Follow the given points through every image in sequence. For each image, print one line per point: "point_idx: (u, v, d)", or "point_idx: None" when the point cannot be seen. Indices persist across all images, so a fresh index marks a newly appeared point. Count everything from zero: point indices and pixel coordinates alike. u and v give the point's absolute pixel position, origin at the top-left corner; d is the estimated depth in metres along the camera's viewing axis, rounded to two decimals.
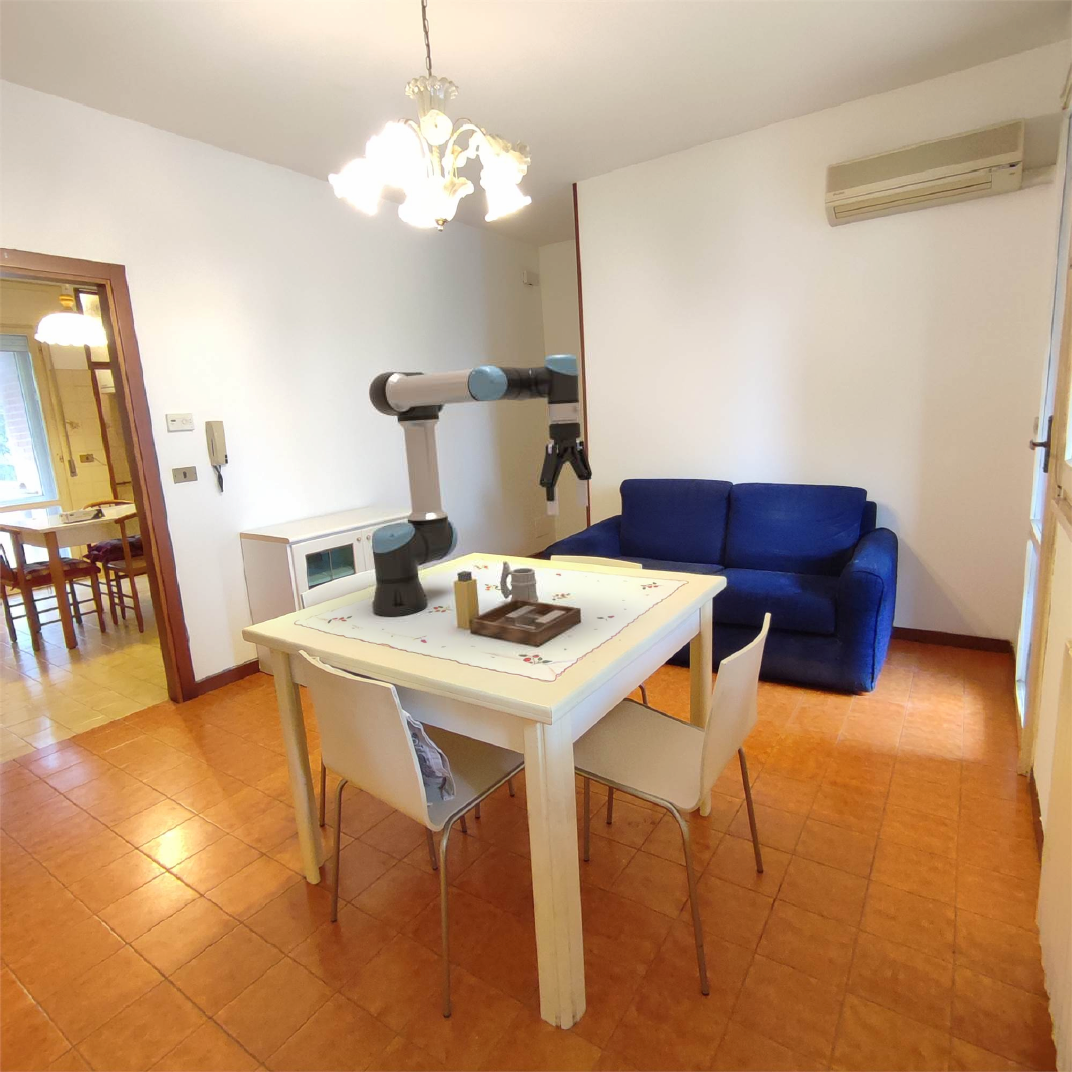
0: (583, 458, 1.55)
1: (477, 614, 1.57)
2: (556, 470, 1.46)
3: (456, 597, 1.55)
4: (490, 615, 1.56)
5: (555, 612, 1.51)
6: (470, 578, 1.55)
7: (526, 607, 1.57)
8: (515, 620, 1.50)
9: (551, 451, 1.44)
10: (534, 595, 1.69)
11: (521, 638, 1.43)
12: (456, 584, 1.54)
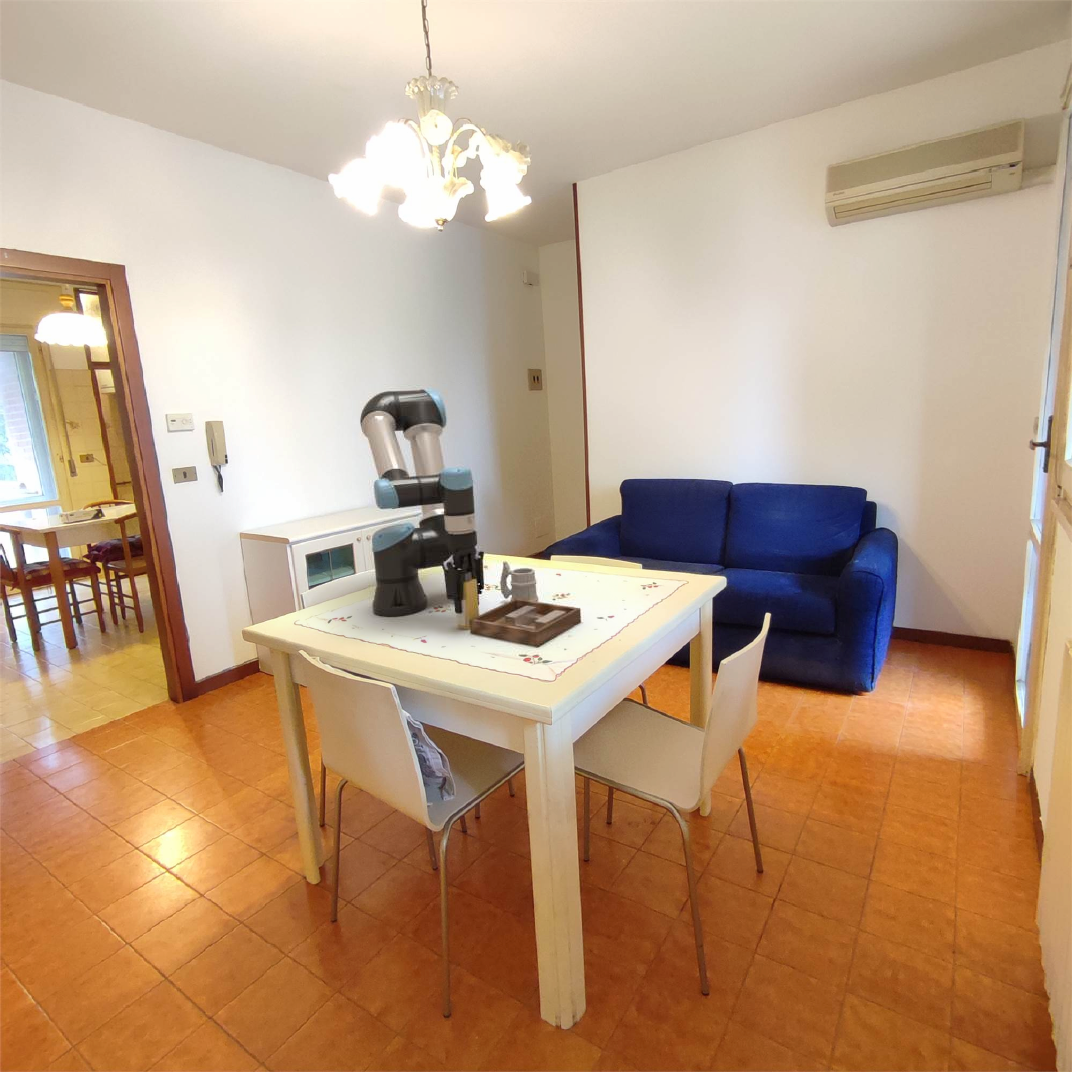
0: (479, 568, 1.58)
1: (477, 614, 1.57)
2: (459, 583, 1.52)
3: None
4: (490, 615, 1.56)
5: (555, 612, 1.51)
6: (470, 578, 1.55)
7: (526, 607, 1.57)
8: (515, 620, 1.50)
9: (448, 568, 1.49)
10: (534, 595, 1.69)
11: (521, 638, 1.43)
12: None
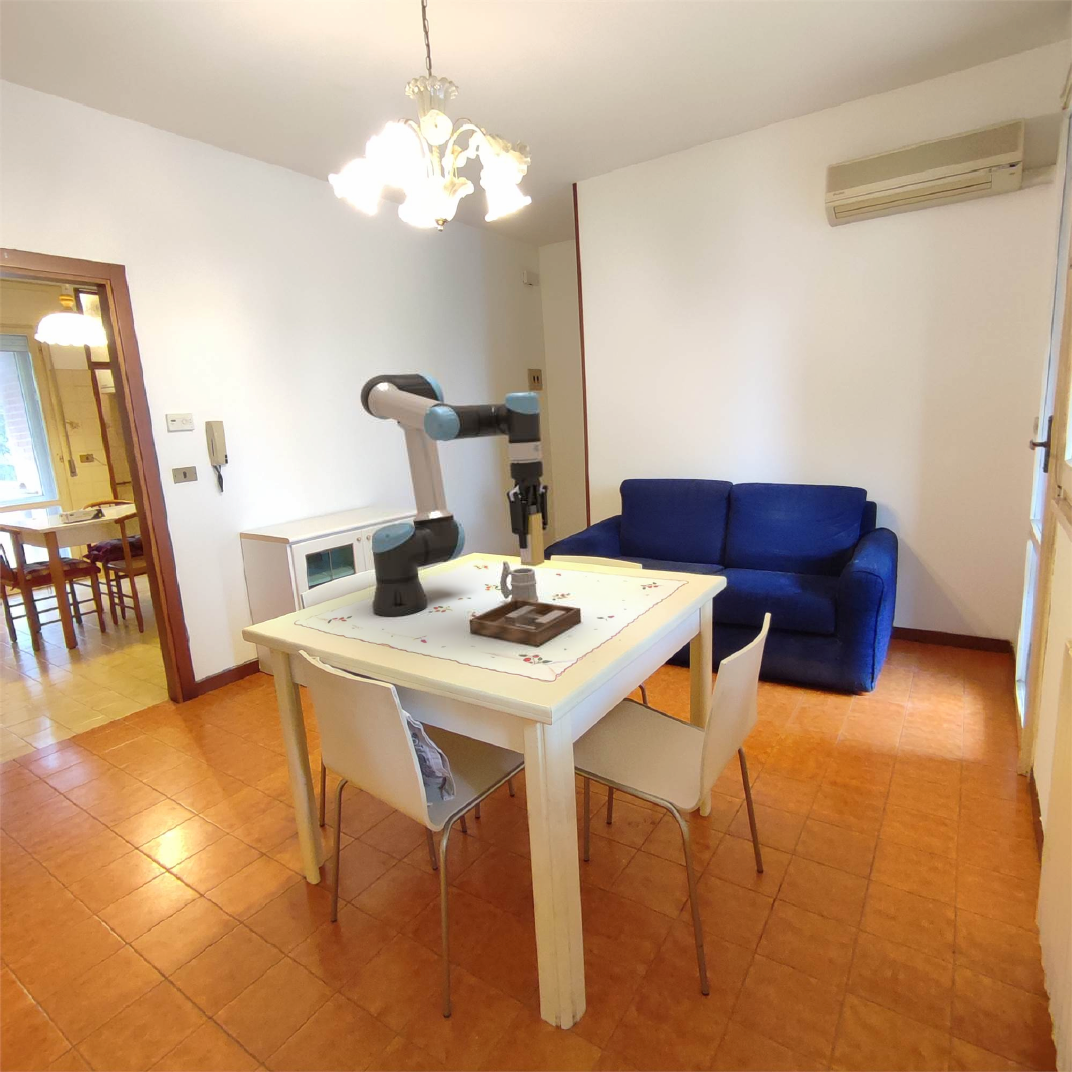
0: (543, 502, 1.49)
1: (542, 551, 1.48)
2: (524, 516, 1.43)
3: None
4: (490, 615, 1.56)
5: (555, 612, 1.51)
6: (535, 512, 1.46)
7: (526, 607, 1.57)
8: (515, 620, 1.50)
9: (514, 499, 1.40)
10: (534, 595, 1.69)
11: (521, 638, 1.43)
12: None
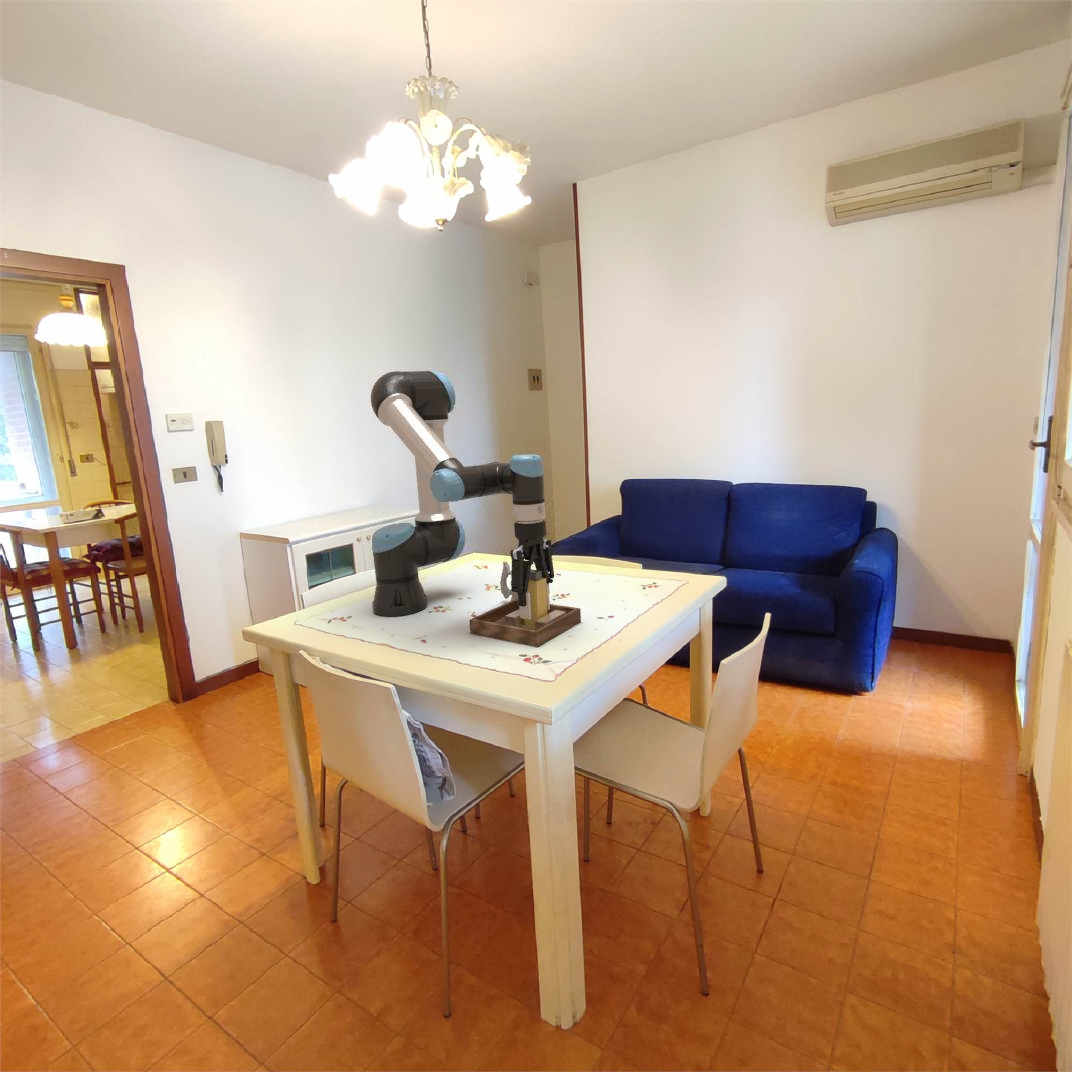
0: (548, 557, 1.53)
1: (545, 614, 1.51)
2: (525, 575, 1.45)
3: None
4: (490, 615, 1.56)
5: (555, 612, 1.51)
6: (540, 577, 1.49)
7: None
8: (515, 620, 1.50)
9: (517, 557, 1.43)
10: None
11: (521, 638, 1.43)
12: None
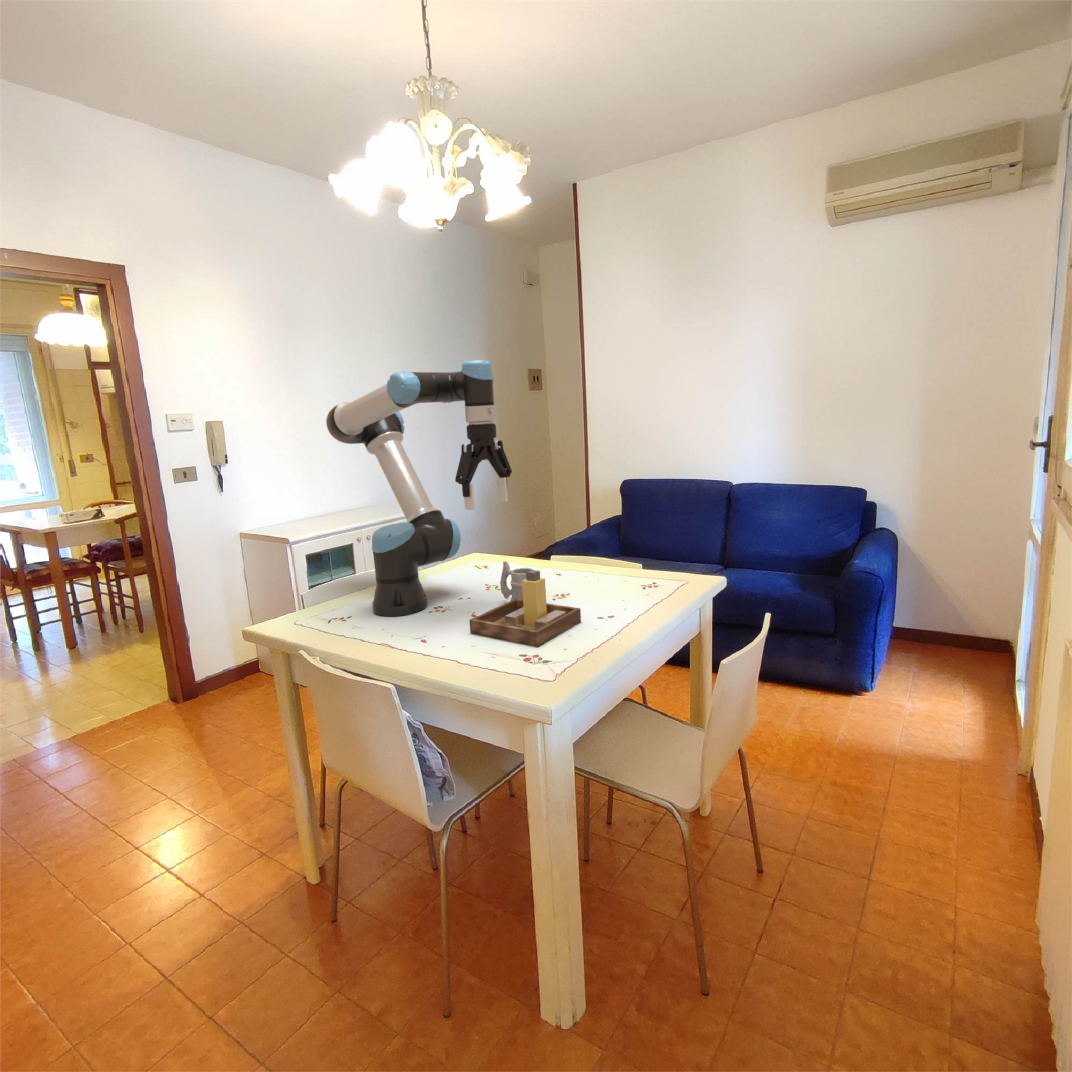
0: (502, 456, 1.66)
1: None
2: (472, 468, 1.56)
3: (524, 597, 1.50)
4: (490, 615, 1.56)
5: (555, 612, 1.51)
6: (539, 577, 1.49)
7: None
8: (515, 620, 1.50)
9: (466, 450, 1.55)
10: None
11: (521, 638, 1.43)
12: (524, 583, 1.49)
